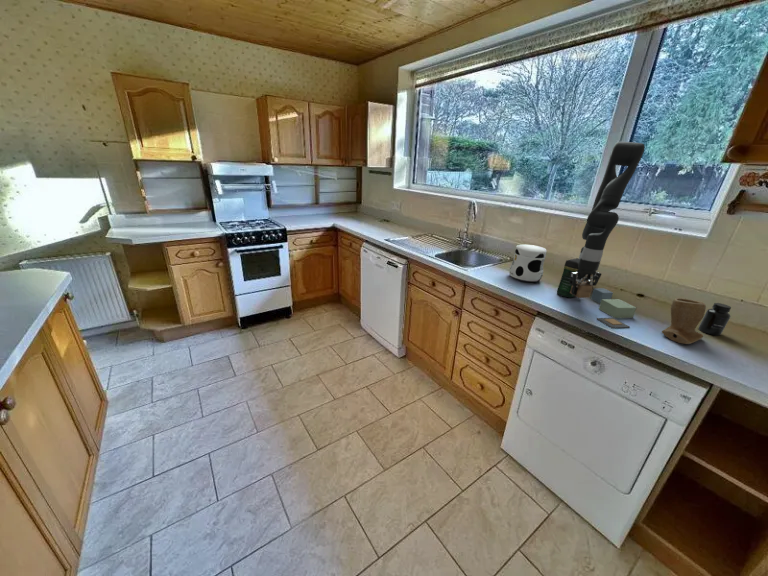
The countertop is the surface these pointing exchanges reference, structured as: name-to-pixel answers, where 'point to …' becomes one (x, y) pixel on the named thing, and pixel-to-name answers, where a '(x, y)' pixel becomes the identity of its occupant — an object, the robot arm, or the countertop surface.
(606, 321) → the tile
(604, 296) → the blue-grey cube
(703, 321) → the supplement bottle
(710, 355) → the countertop surface
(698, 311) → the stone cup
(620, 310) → the sage base block
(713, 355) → the countertop surface
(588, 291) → the walnut cube
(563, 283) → the coffee jar
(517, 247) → the milk container
